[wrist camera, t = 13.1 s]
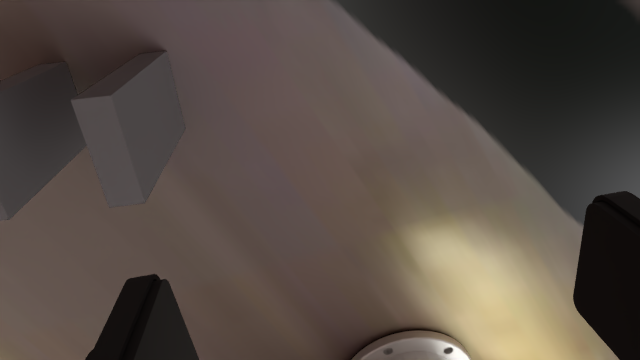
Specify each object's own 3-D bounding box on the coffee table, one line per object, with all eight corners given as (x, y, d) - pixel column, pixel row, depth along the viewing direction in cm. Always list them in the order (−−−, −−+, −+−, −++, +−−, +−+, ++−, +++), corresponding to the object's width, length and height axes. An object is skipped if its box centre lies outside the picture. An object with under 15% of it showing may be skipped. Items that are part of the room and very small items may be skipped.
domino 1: (66, 61, 26) (-43, 112, 17) (93, 139, 28) (9, 219, 19) (38, 64, 26) (-85, 117, 17) (68, 142, 28) (-28, 224, 19)
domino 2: (166, 50, 26) (110, 95, 17) (185, 128, 29) (144, 203, 20) (139, 53, 26) (70, 100, 17) (161, 131, 29) (109, 207, 20)
